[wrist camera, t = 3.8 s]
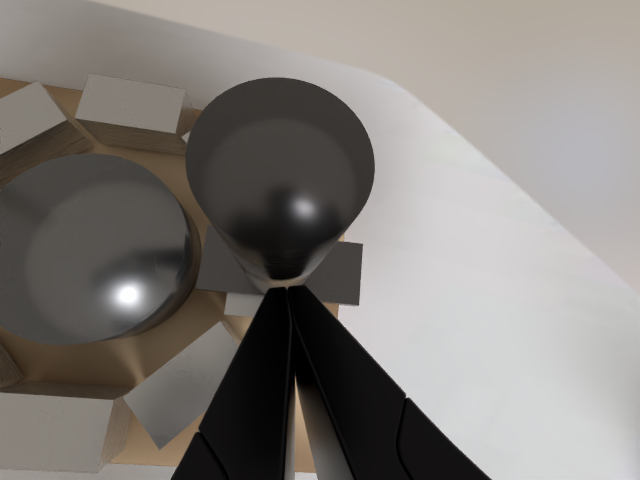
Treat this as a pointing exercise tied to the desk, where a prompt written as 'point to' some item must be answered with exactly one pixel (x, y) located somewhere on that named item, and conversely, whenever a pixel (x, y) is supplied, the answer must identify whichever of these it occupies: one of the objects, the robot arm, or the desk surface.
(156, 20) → the desk surface
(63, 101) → the oak board
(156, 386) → the block ring with rod
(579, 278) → the desk surface
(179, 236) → the grey metal puck
